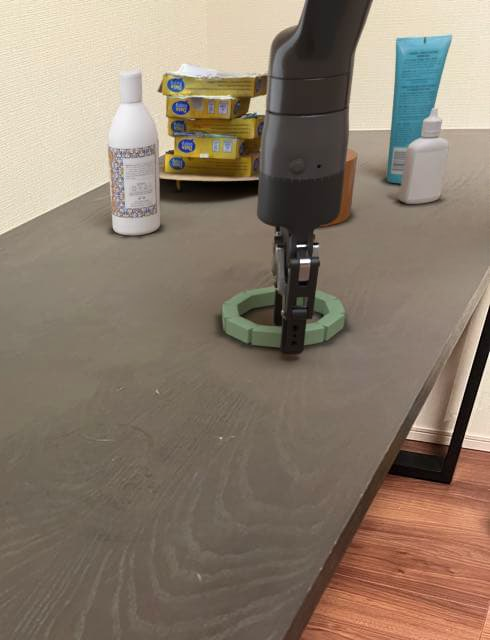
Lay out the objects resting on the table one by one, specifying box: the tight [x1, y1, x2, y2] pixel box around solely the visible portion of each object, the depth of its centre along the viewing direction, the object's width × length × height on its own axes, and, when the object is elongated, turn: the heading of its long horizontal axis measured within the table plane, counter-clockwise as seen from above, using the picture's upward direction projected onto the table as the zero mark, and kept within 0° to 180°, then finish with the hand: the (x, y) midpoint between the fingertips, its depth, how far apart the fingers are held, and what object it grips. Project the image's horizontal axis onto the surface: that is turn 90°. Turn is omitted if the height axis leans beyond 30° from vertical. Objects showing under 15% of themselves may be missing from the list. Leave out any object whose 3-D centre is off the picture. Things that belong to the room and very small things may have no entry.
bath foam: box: [107, 69, 161, 236], centre depth 109 cm, size 7×7×20 cm
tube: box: [385, 34, 453, 185], centre depth 117 cm, size 7×5×19 cm, turn 85°
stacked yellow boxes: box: [156, 62, 268, 192], centre depth 126 cm, size 25×25×17 cm
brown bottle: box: [318, 147, 358, 228], centre depth 110 cm, size 11×11×13 cm
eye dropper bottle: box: [398, 107, 450, 205], centre depth 111 cm, size 4×6×12 cm
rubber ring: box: [221, 285, 346, 349], centre depth 85 cm, size 13×13×2 cm
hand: (287, 337), depth 81 cm, fingers open, 6 cm apart
